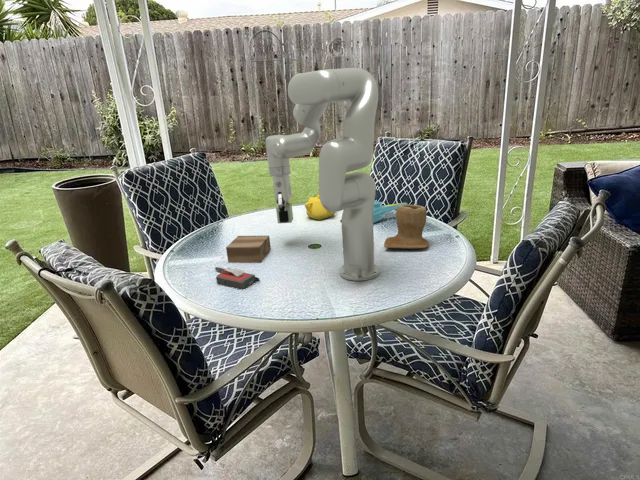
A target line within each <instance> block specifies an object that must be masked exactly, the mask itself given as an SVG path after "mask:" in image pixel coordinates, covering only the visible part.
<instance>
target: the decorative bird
mask: <svg viewBox="0 0 640 480" xmlns="http://www.w3.org/2000/svg"><path fill="white" fill-rule="evenodd" d="M383 203H384V202H382V201H378V200H377V201H375V200H374V206H373V224H375V223H377V222H378V221H381V220H382V219H383V218H385V216H383V215H384V214H387V213H388V212H392V211H395V210H397V208H398V206H399V205H408V202H400V203H393V204H385V205H382V204H383ZM339 222H340V223H341V224H342V219H340V221H339Z"/></svg>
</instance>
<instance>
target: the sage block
mask: <svg viewBox="0 0 640 480" xmlns="http://www.w3.org/2000/svg"><path fill="white" fill-rule="evenodd" d="M284 208H285V207H284ZM286 208H287V211H288V219H289V221H288V222H280V219H279V208H278V204H277V205H276V207H275V209H276V219H277V224H289V223H291V224H292V222H293V220H294V214H293V213H294V212H293V203H290V202H289V204H286Z"/></svg>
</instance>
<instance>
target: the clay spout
mask: <svg viewBox="0 0 640 480" xmlns="http://www.w3.org/2000/svg"><path fill="white" fill-rule="evenodd" d="M427 213H428V211H427V209H426V207H424V206H423V205H419V204H417V205H416V204H407V205H399V206H398V208H397V209H396V211H395V220H396V225H397V234H396V235H395V236H388V237H387V238H386V239H384V243H383V248H385V249H388V248H389V249H403V250H404V249H408V250H409V249H426V248H428V247H429V245H430V244H429V241H428V240H427V239H426V238H423V231H424V229H425V225H426V222H427Z"/></svg>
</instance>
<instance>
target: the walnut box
mask: <svg viewBox="0 0 640 480" xmlns="http://www.w3.org/2000/svg"><path fill="white" fill-rule="evenodd" d="M270 240H271V239H270V235H237V236H236V237H235V239H233V240H232V241H231V242H230V243H229V244H228V245H227V246H225V249H226V255H227V263H229V264H233V263H235V264H237V263H238V264H243V263H244V264H261V263H262V262H263V261H264V260H265V259H266V258H267V256H268V255H269V253H270V252H271V251H270V250H271V249H272V248H271V247H272V246H271V241H270ZM267 254H268V255H267Z"/></svg>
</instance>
